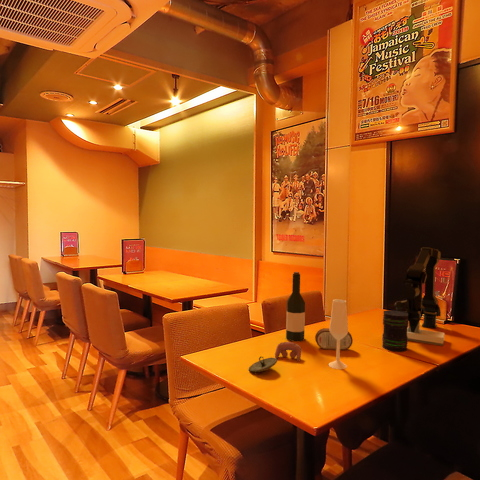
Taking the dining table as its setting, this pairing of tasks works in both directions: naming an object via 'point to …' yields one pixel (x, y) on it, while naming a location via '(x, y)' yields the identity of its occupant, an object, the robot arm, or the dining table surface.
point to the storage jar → (395, 330)
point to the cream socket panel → (426, 337)
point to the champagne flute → (338, 328)
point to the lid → (263, 364)
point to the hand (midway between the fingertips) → (414, 329)
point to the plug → (416, 328)
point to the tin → (332, 340)
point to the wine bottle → (295, 312)
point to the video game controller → (288, 346)
